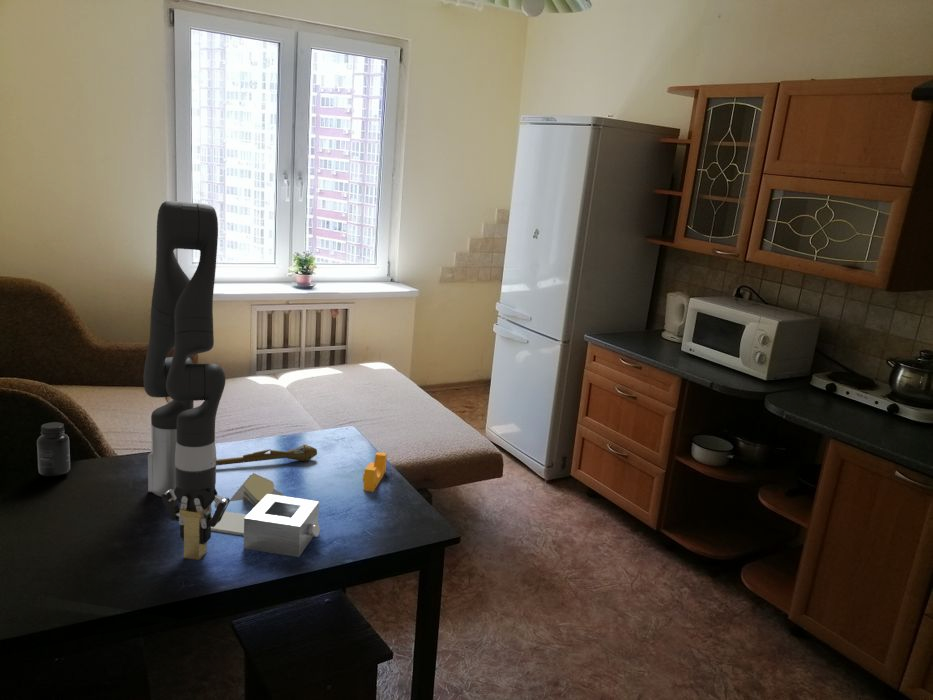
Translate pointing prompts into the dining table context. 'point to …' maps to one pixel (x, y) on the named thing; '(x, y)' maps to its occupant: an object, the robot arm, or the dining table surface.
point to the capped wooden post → (193, 534)
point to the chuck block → (281, 525)
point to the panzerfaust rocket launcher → (273, 455)
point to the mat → (230, 523)
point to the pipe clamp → (375, 472)
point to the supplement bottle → (53, 450)
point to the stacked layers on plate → (255, 489)
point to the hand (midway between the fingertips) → (195, 540)
